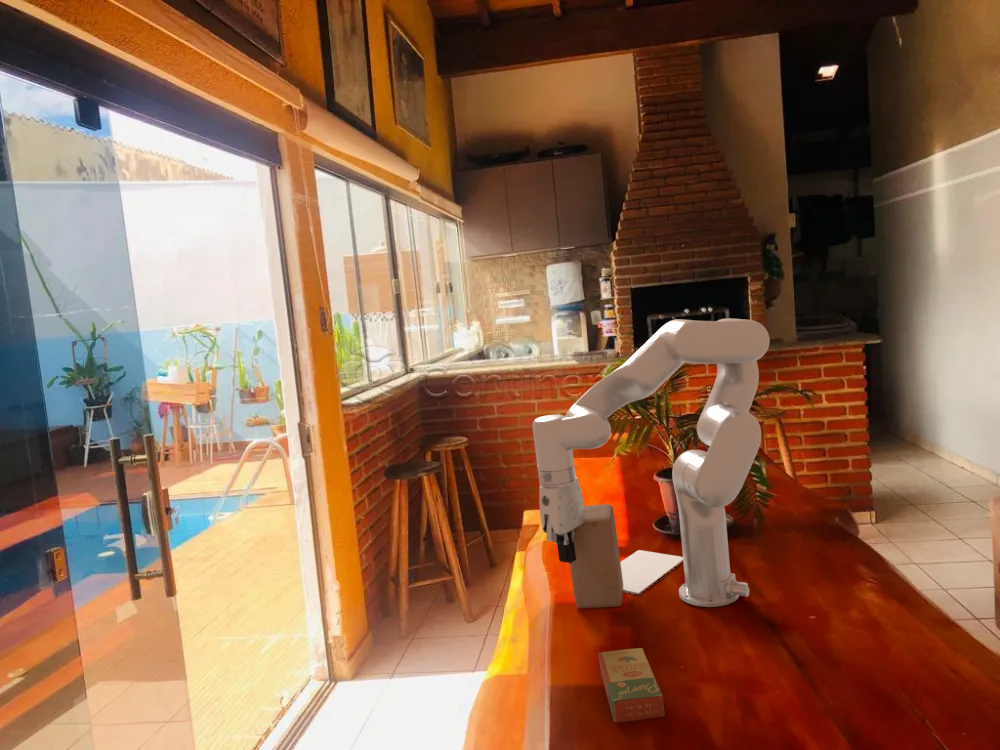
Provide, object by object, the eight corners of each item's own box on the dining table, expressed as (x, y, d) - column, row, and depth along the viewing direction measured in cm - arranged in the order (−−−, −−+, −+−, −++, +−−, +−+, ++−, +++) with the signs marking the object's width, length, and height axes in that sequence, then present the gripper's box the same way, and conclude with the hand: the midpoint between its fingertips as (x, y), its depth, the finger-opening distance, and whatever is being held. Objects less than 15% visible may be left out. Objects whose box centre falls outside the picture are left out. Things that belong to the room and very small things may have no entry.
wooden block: (622, 608, 161) (610, 519, 158) (575, 610, 163) (562, 522, 160) (624, 586, 171) (612, 502, 167) (579, 589, 173) (568, 505, 170)
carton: (645, 668, 137) (643, 646, 136) (666, 719, 121) (664, 694, 121) (599, 673, 137) (597, 651, 136) (614, 725, 121) (612, 700, 120)
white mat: (685, 559, 184) (685, 557, 183) (638, 595, 167) (638, 592, 167) (638, 552, 192) (638, 549, 192) (589, 585, 175) (589, 582, 175)
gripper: (550, 487, 147) (562, 577, 149) (592, 466, 159) (602, 550, 161) (520, 484, 152) (531, 571, 154) (562, 464, 163) (572, 546, 166)
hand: (567, 560), depth 157 cm, fingers closed
